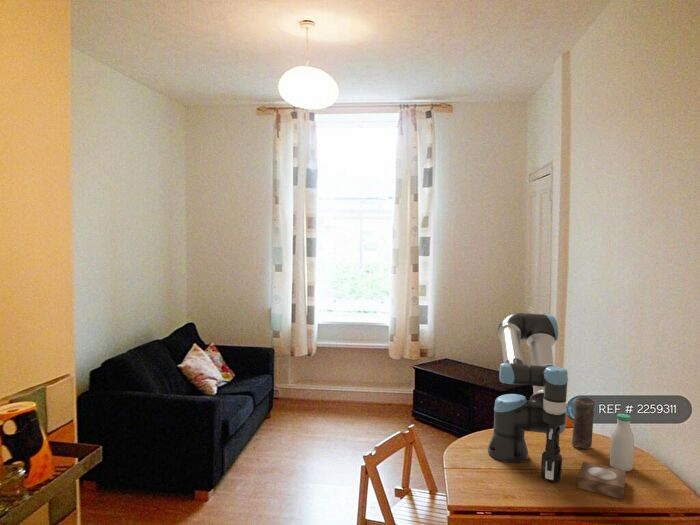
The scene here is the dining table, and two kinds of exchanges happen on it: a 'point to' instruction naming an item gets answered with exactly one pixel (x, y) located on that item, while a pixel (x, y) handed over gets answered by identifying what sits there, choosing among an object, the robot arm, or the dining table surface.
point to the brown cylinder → (583, 423)
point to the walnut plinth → (602, 480)
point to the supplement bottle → (556, 465)
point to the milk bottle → (622, 444)
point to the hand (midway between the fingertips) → (551, 474)
